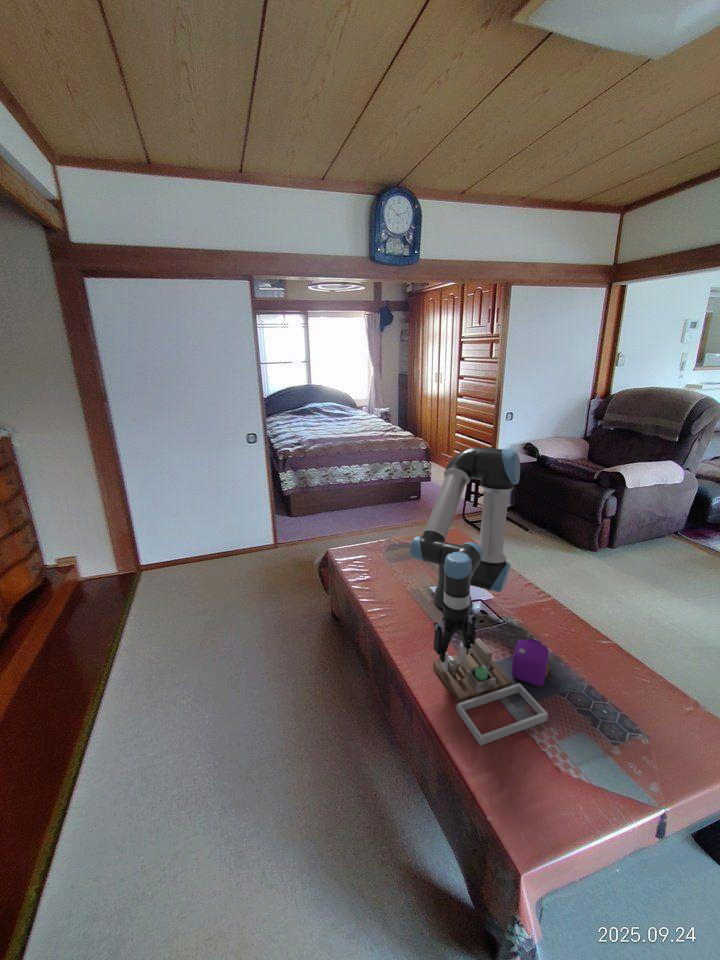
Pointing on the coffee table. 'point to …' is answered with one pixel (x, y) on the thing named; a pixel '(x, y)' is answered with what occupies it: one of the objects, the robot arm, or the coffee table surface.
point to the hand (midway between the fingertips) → (453, 665)
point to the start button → (481, 673)
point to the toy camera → (530, 662)
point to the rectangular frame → (507, 729)
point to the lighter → (453, 665)
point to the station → (473, 674)
